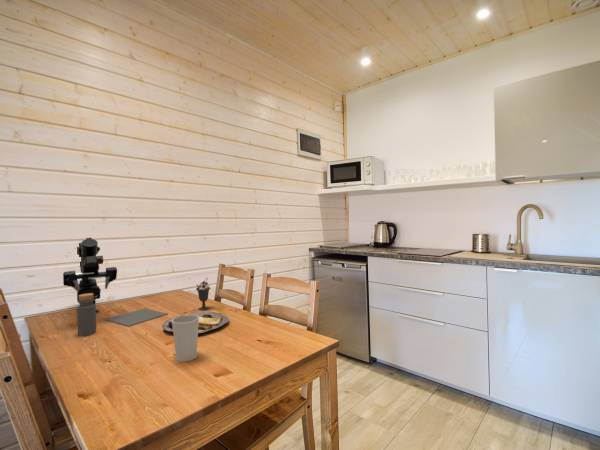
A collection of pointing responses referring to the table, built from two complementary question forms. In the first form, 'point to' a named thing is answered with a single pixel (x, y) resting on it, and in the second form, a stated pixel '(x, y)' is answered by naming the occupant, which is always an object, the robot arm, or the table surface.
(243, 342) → the table surface
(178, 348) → the cup
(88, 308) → the bottle
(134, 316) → the mat
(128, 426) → the table surface
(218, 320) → the food plate
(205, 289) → the sundae
